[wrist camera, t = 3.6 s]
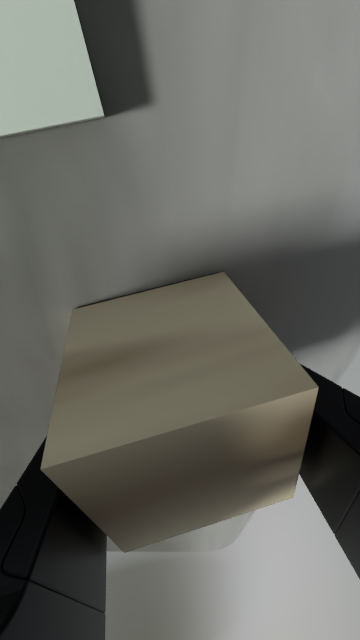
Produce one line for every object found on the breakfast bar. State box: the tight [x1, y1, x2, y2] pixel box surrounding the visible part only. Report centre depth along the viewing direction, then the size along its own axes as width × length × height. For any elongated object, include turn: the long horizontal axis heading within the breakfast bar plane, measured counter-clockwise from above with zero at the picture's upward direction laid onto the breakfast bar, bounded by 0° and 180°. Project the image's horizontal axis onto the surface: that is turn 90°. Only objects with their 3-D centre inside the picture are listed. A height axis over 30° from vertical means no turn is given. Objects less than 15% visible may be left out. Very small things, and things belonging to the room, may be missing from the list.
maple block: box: [40, 272, 319, 552], centre depth 8 cm, size 5×5×5 cm
